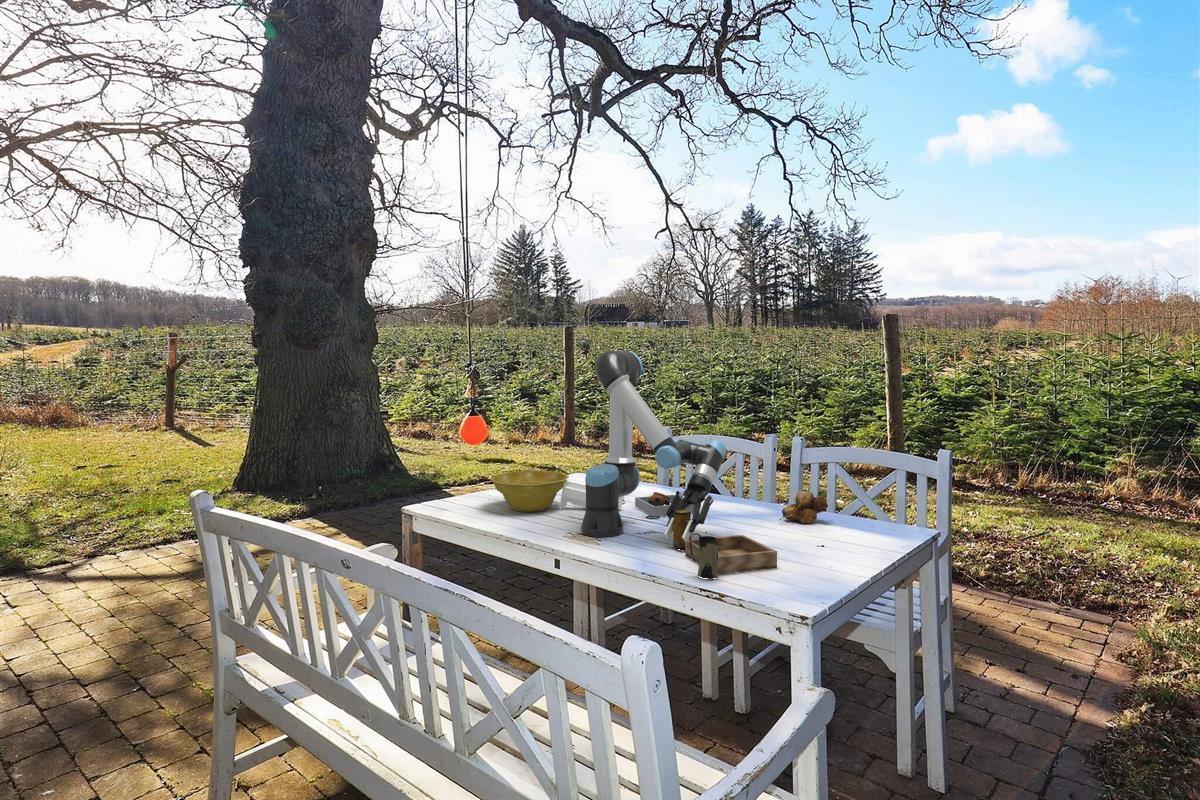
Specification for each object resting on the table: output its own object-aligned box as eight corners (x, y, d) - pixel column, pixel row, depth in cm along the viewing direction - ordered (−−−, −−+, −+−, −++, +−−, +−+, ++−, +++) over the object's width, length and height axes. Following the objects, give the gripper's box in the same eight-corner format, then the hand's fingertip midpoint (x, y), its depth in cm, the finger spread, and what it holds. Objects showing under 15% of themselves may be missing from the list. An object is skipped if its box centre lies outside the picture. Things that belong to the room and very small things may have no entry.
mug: (720, 575, 191) (720, 533, 190) (715, 581, 186) (715, 538, 185) (693, 572, 194) (693, 530, 194) (687, 577, 189) (687, 535, 188)
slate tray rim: (653, 517, 263) (653, 507, 263) (635, 506, 282) (635, 497, 282) (695, 513, 268) (695, 503, 268) (674, 503, 287) (674, 494, 287)
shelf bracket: (560, 508, 282) (566, 478, 281) (618, 521, 279) (624, 492, 278) (558, 511, 276) (563, 481, 275) (617, 524, 273) (623, 494, 272)
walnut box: (715, 575, 191) (715, 557, 191) (685, 556, 210) (685, 540, 210) (777, 568, 197) (777, 551, 197) (742, 550, 216) (742, 534, 216)
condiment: (685, 543, 225) (685, 508, 224) (700, 549, 217) (700, 513, 216) (666, 546, 221) (666, 510, 221) (681, 552, 214) (681, 515, 213)
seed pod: (829, 510, 242) (829, 490, 255) (784, 499, 246) (786, 480, 259) (820, 540, 248) (820, 519, 261) (776, 529, 251) (778, 508, 264)
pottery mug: (641, 509, 279) (648, 491, 282) (661, 518, 280) (668, 500, 283) (650, 508, 268) (657, 489, 270) (671, 517, 269) (678, 498, 271)
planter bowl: (537, 521, 258) (537, 486, 257) (474, 511, 275) (473, 479, 274) (583, 505, 285) (583, 474, 285) (523, 497, 302) (523, 468, 302)
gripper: (730, 490, 225) (705, 549, 213) (681, 484, 237) (655, 539, 225) (723, 476, 220) (697, 536, 208) (673, 471, 232) (646, 527, 220)
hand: (675, 538), depth 217 cm, fingers closed on condiment, 6 cm apart
